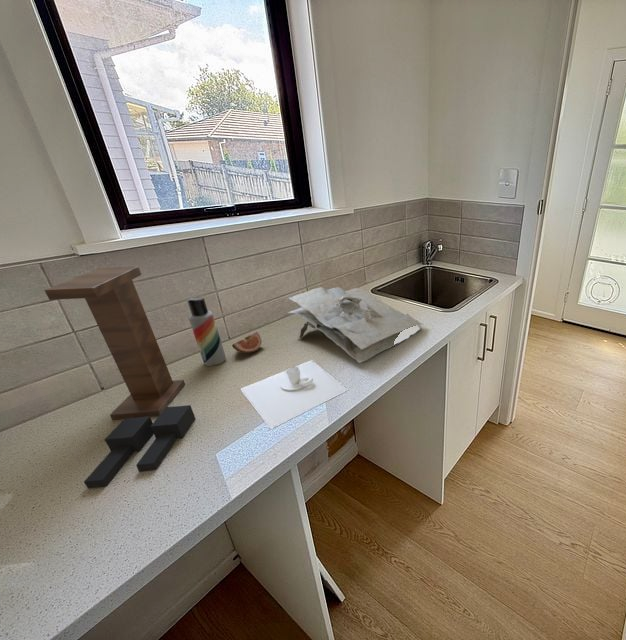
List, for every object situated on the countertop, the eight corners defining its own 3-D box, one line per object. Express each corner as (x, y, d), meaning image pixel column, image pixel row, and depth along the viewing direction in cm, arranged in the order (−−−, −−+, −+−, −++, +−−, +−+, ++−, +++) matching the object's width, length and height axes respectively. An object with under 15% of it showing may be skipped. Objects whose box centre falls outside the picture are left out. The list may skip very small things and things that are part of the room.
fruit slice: (243, 360, 99) (239, 346, 97) (229, 355, 101) (224, 340, 99) (267, 347, 105) (264, 333, 103) (253, 342, 108) (249, 329, 106)
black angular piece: (162, 469, 64) (154, 454, 63) (133, 472, 64) (125, 457, 62) (195, 418, 77) (190, 405, 75) (171, 420, 76) (166, 407, 74)
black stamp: (112, 485, 61) (103, 470, 59) (81, 489, 60) (71, 474, 59) (156, 430, 73) (150, 416, 72) (131, 432, 73) (124, 418, 71)
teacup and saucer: (318, 383, 89) (316, 371, 87) (289, 397, 84) (286, 383, 82) (303, 370, 94) (300, 357, 93) (275, 382, 89) (272, 369, 88)
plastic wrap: (430, 310, 114) (363, 337, 89) (420, 349, 121) (356, 384, 96) (358, 273, 129) (285, 288, 105) (354, 310, 137) (284, 331, 112)
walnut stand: (157, 418, 77) (98, 287, 63) (109, 423, 75) (37, 290, 61) (187, 382, 89) (143, 266, 75) (146, 385, 88) (93, 267, 74)
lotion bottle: (199, 364, 97) (177, 301, 88) (214, 354, 102) (195, 293, 93) (215, 367, 95) (194, 303, 87) (230, 357, 100) (212, 295, 92)
